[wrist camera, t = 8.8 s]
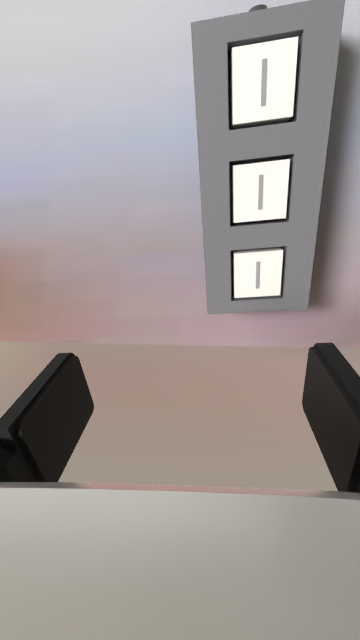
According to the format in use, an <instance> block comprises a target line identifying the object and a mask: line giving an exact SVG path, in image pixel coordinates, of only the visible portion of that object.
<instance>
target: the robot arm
mask: <svg viewBox="0 0 360 640" xmlns="http://www.w3.org/2000/svg"><path fill="white" fill-rule="evenodd" d="M302 404H303V409H304V412H305V414H306V417H307V419H308V422H309V424H310V426H311V429H312V431H313V433H314V436H315V438H316V440H317V443H318V445H319V447H320V450H321V452H322V454H323V457H324V459H325V461H326V464H327V466H328V468H329V471H330V473H331V476H332V478H333V480H334V483H335V485H336V487H337V490H338V491H322V490H303V489H302V490H301V489H280V488H250V487H218V486H187V485H186V486H185V485H184V486H183V485H148V484H110V483H63V482H62V483H61V482H59V483H58V480H59V478H60V476H61V474H62V472H63V470H64V468H65V466H66V464H67V462H68V460H69V458H70V456H71V454H72V453H73V450H74V449H75V447H76V444H77V443H78V440H79V439H80V437H81V434H82V433H83V431H84V429H85V427H86V425H87V423H88V421H89V419H90V417H91V415H92V413H93V409H94V404H93V401H92V397H91V394H90V391H89V388H88V385H87V382H86V379H85V376H84V373H83V370H82V367H81V364H80V361H79V358H78V357H77V356H75V355H74V354H73V353H59V354H57V355H56V356H55V357H54V358H53V360H52V361H51V362H50V363H49V364H48V365H47V366H46V368H45V369H44V370H43V371H42V372H41V373H40V374H39V376H37V378H36V379H35V380H34V381H33V382H32V383H31V384H30V386H29V387H28V388H27V389H26V390H25V391H24V392H23V394H22V395H21V396H20V397H19V398H18V399H17V400H16V401H15V403H14V404H13V405H12V406H11V407H10V408H9V409H8V410H7V412H6V413H5V414H4V415H3V416H2V417H1V418H0V640H360V377H359V375H358V374H357V373H356V372H355V370H354V369H353V368H352V367H351V365H350V364H349V363H348V362H347V360H346V359H345V358H344V356H343V355H342V354H341V353H340V351H339V350H338V349H337V348H336V346H335V345H334V344H333V343H316V344H315V345H314V347H310V348H309V353H308V361H307V368H306V376H305V385H304V392H303V400H302Z"/></svg>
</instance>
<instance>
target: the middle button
mask: <svg viewBox="0 0 360 640" xmlns="http://www.w3.org/2000/svg"><path fill="white" fill-rule="evenodd" d="M289 166H290V159H285V160H277V161H268V162H260V163H251V164H243V165H234V166H232V167H231V220H232V221H233V222H234V223H238V222H249V221H259V220H270V219H281V218H286V209H287V195H288V180H289Z"/></svg>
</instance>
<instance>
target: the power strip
mask: <svg viewBox="0 0 360 640" xmlns="http://www.w3.org/2000/svg"><path fill="white" fill-rule="evenodd" d="M344 4H345V0H310V1H305V2H300V3H294V4H289V5H283V6H278V7H273V8H267V6H266V5H257V6H255V7H253V8H251V9H250V10H249V12H246V13H240V14H235V15H230V16H224V17H219V18H213V19H208V20H203V21H197V22H192V23H191V33H192V50H193V68H194V85H195V102H196V119H197V137H198V154H199V171H200V188H201V206H202V223H203V240H204V257H205V275H206V292H207V309H208V314H222V313H242V312H261V311H281V310H301V309H308V302H309V294H310V286H311V278H312V269H313V261H314V253H315V244H316V236H317V228H318V220H319V211H320V203H321V195H322V187H323V178H324V170H325V162H326V153H327V145H328V137H329V129H330V120H331V112H332V104H333V95H334V87H335V79H336V71H337V62H338V54H339V46H340V38H341V29H342V21H343V13H344ZM292 37H298V50H297V64H296V78H295V93H294V107H293V117H291V118H290V119H289V120H288V121H287V122H285V123H280V124H273V125H265V126H258V127H250V128H243V129H235V130H230V82H229V63H230V57H231V52H232V48H233V47H239V46H245V45H251V44H257V43H263V42H268V41H274V40H280V39H286V38H292ZM285 159H290V166H289V180H288V195H287V209H286V218H281V219H270V220H259V221H249V222H238V223H234V222H233V221H232V220H231V167H232V166H234V165H243V164H251V163H260V162H268V161H277V160H285ZM269 247H280V248H281V249H283V261H282V276H281V290H280V295H278V296H261V297H243V298H234V294H233V290H232V250H244V249H256V248H269Z"/></svg>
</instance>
